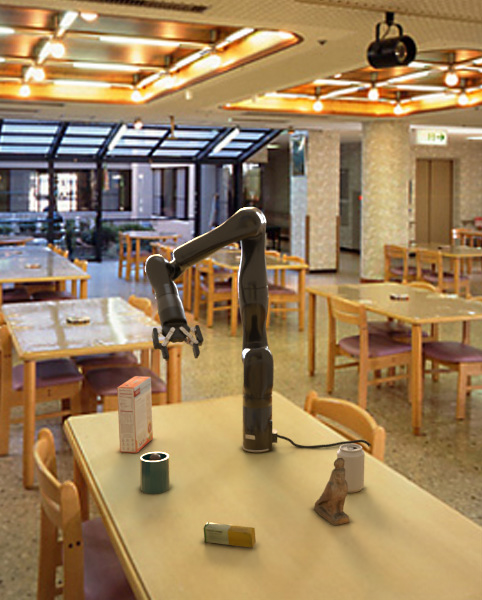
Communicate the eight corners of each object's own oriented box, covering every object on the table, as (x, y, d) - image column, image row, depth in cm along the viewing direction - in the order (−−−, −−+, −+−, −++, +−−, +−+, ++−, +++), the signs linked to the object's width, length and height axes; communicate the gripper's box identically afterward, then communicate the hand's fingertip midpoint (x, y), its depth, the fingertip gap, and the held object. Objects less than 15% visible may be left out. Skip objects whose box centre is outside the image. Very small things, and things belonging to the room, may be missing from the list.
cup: (170, 482, 219) (170, 451, 218) (167, 493, 212) (167, 461, 210) (142, 483, 218) (142, 452, 217) (139, 494, 211) (138, 462, 210)
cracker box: (135, 438, 257) (134, 375, 254) (153, 439, 256) (152, 376, 253) (118, 452, 243) (116, 386, 240) (136, 453, 242) (135, 387, 239)
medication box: (203, 542, 183) (202, 527, 182) (208, 536, 186) (207, 521, 185) (252, 548, 180) (251, 532, 179) (256, 542, 183) (255, 526, 182)
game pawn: (164, 483, 217) (163, 451, 216) (162, 488, 213) (161, 456, 212) (149, 483, 217) (148, 451, 216) (147, 489, 213) (146, 456, 212)
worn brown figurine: (349, 531, 196) (358, 468, 190) (329, 534, 194) (337, 471, 188) (331, 504, 206) (339, 443, 200) (311, 507, 204) (319, 445, 198)
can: (368, 486, 219) (368, 444, 217) (357, 495, 212) (358, 452, 210) (343, 481, 222) (344, 440, 220) (331, 490, 215) (332, 448, 213)
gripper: (149, 306, 229) (159, 353, 221) (197, 303, 235) (209, 348, 227) (145, 321, 235) (155, 367, 226) (192, 318, 241) (203, 363, 232)
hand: (182, 358), depth 226 cm, fingers open, 8 cm apart
